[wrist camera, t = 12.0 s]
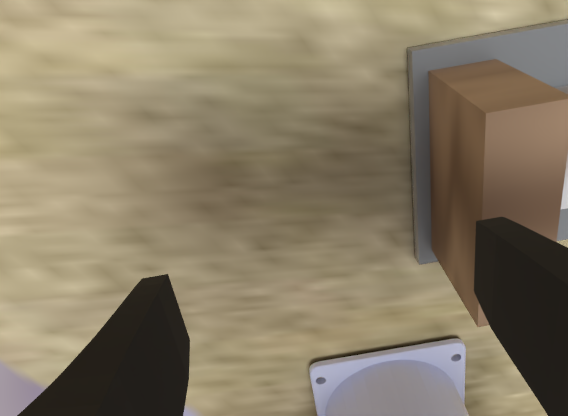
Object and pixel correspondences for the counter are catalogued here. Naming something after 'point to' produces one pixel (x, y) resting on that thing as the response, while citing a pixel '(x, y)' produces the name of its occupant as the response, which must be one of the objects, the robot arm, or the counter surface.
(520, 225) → the robot arm
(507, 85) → the brown grey l-shaped piece
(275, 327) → the counter surface
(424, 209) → the tool rest
